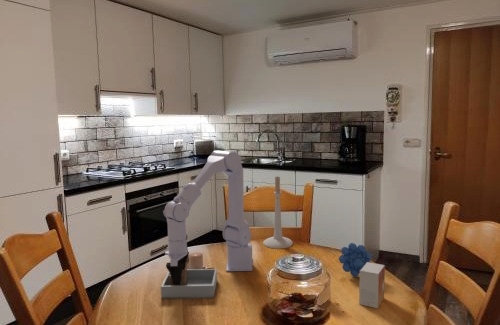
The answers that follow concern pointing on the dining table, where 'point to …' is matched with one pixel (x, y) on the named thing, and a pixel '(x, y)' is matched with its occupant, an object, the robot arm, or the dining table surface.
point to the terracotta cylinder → (196, 260)
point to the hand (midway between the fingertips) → (178, 279)
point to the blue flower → (354, 258)
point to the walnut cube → (183, 279)
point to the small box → (371, 284)
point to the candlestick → (277, 224)
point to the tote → (192, 285)
